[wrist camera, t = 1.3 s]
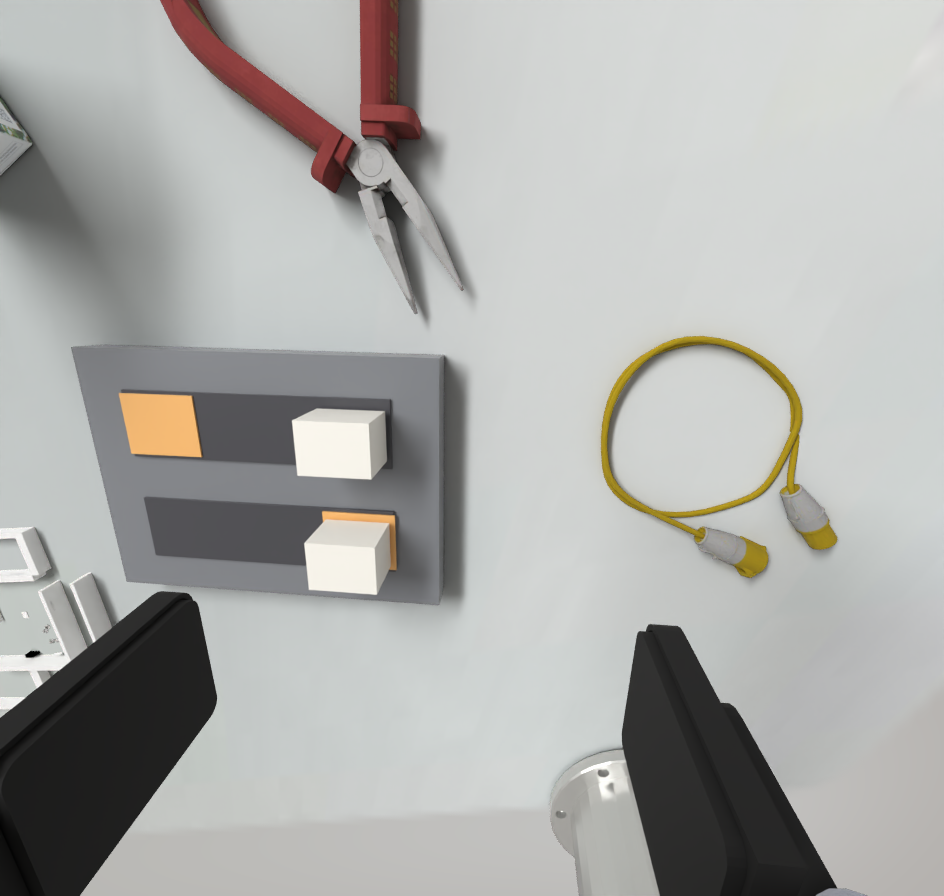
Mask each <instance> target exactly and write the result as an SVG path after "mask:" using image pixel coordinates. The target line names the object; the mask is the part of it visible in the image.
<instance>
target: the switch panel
mask: <svg viewBox="0 0 944 896" xmlns="http://www.w3.org/2000/svg"><path fill="white" fill-rule="evenodd" d="M71 349H72V353H73V357H74V362H75V366H76V370H77V374H78V378H79V383H80V387H81V391H82V395H83V400H84V404H85V408H86V412H87V416H88V421H89V425H90V429H91V433H92V437H93V442H94V446H95V450H96V454H97V458H98V463H99V467H100V471H101V475H102V479H103V484H104V488H105V492H106V496H107V501H108V505H109V509H110V513H111V517H112V522H113V526H114V530H115V534H116V538H117V543H118V547H119V551H120V555H121V559H122V564H123V568H124V572H125V576H126V581H127V582H138V583H151V584H164V585H178V586H191V587H204V588H218V589H231V590H244V591H258V592H271V593H284V594H298V595H311V596H324V597H338V598H351V599H364V600H378V601H391V602H404V603H418V604H431V605H439V603H440V599H441V595H442V592H443V588H444V355H427V354H393V353H360V352H326V351H293V350H259V349H226V348H192V347H158V346H125V345H92V346H79V347H71ZM317 408H318V409H342V410H367V411H385V422H386V449H387V462H386V463H385V464H384V465H383V467H382V468H381V469H380V470H379V471H378V472H377V474H376V475H375V476H374V477H373V478H372V479H371V480H369V479H351V478H332V477H313V476H297V466H296V456H295V446H294V436H293V426H292V420H294V419H296V418H298V417H300V416H302V415H304V414H306V413H308V412H311V411H313V410H315V409H317ZM326 519H329V520H346V521H362V522H379V523H389V530H390V557H391V567H390V569H389V571H388V573H387V575H386V577H385V579H384V581H383V583H382V585H381V587H380V589H379V591H378V594H377V595H373V594H360V593H346V592H333V591H319V590H309V586H308V576H307V566H306V556H305V546H304V543H305V542H306V541H307V540H308V538H309V537H310V536H311V535H312V534H313V533H314V532H315V531H316V530H317V529H318V528H319V526H320V525H321V524H322V523H323V522H324V521H325V520H326Z"/></svg>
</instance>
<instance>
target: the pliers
mask: <svg viewBox="0 0 944 896" xmlns="http://www.w3.org/2000/svg"><path fill="white" fill-rule="evenodd" d="M160 1H161V3H162V5H163V7H164V9H165V11H166V13H167V15H168V17H169V19H170V21H171V23H172V26H173V28H174V29H175V31H176V33H177V34H178V35H179V37H180V38H181V40H182V41H183V42H184V44H185V45H186V46H187V48H188V49H189V50H190V51H191V53H192V54H193V55H194V56H195V57H196V58H197V59H198V60H199V61H200V62H201V63H202V64H203V65H204V66H205V67H206V68H207V69H208V70H209V71H210V72H211V73H212V74H213V75H214V76H216V77H217V78H218V79H219V80H220V81H221V82H223V83H224V84H225V85H227V86H228V87H229V88H231V89H232V90H233V91H235V92H236V93H237V94H239V95H240V96H241V97H243V98H244V99H246V100H247V101H248V102H250V103H251V104H252V105H254V106H255V107H256V108H258V109H259V110H260V111H262V112H263V113H264V114H266V115H267V116H268V117H270V118H271V119H272V120H274V121H275V122H276V123H278V124H279V125H281V126H282V127H283V128H285V129H286V130H287V131H289V132H290V133H291V134H293V135H294V136H295V137H297V138H298V139H299V140H301V141H302V142H303V143H305V144H306V145H307V146H309V147H310V148H311V149H313V150H314V151H316V152H317V155H316V157H315V159H314V161H313V164H312V168H311V175H312V177H313V178H314V179H315V180H317V181H318V182H319V183H321V184H322V185H324V186H325V187H326V188H328V189H329V190H331V191H332V192H333V193H336V191H337V189H338V187H339V185H340V183H341V181H342V179H343V177H344V175H345V173H346V172H347V173H348V174H350V175H351V176H353V177H356V178H357V180H358V181H359V183H360V186H361V189H362V191H359V192H358V193H359V196H360V200H361V203H362V206H363V209H364V212H365V215H366V218H367V221H368V224H369V227H370V230H371V232H372V235H373V238H374V240H375V242H376V244H377V245H378V247H379V249H380V251H381V253H382V255H383V256H384V258H385V260H386V262H387V264H388V266H389V268H390V269H391V271H392V273H393V275H394V277H395V279H396V281H397V282H398V284H399V286H400V288H401V290H402V292H403V293H404V295H405V297H406V299H407V301H408V303H409V305H410V306H411V308H412V310H413V312H414V314H417V313H418V312H417V309H416V305H415V301H414V297H413V293H412V289H411V285H410V282H409V278H408V274H407V270H406V266H405V262H404V258H403V254H402V251H401V247H400V243H399V240H398V236H397V232H396V229H395V225H394V222H393V221H392V220H390V219H389V218H387V216H386V213H385V209H384V205H383V202H382V197H384V196H386V193H388V192H390V191H392V192H393V194H394V195H395V197H396V198H397V199H398V201H399V202H400V204H401V205H402V206H403V207H402V208H403V209H404V211H405V212H406V213H407V215H408V216H409V218H410V219H411V220H412V222H413V223H414V225H415V226H416V227H417V229H418V230H419V232H420V233H421V234H422V236H423V237H424V239H425V240H426V241H427V243H428V244H429V246H430V247H431V249H432V250H433V251H434V253H435V254H436V256H437V257H438V258H439V260H440V261H441V263H442V264H443V265H444V267H445V268H446V270H447V271H448V272H449V274H450V275H451V277H452V278H453V279H454V281H455V282H456V284H457V285H458V286H459V288H460V289H461V290H463V286H462V284H461V282H460V279H459V277H458V274H457V272H456V270H455V267H454V265H453V263H452V260H451V258H450V255H449V253H448V251H447V248H446V246H445V243H444V241H443V239H442V236H441V234H440V231H439V229H438V227H437V224H436V222H435V219H434V217H433V215H432V213H431V212H430V210H429V209H428V207H427V206H426V204H425V203H424V201H423V200H422V198H421V197H420V195H419V194H418V192H417V191H416V190H415V188H414V187H413V185H412V184H411V182H410V181H409V179H408V178H407V177H406V175H405V174H404V173H403V171H402V170H401V168H400V167H399V165H398V164H397V163H396V160H395V156H394V152H393V151H397V139H420V135H421V122H420V120H419V118H418V116H417V114H416V112H415V111H414V110H413V109H412V108H410V107H407V106H402V105H397V86H398V0H360V57H361V104H360V120H361V135H362V136H363V137H364V138H365V140H363V141H361V142H360V143H359V144H358V145H356V144H355V142H354V141H353V140H351V139H350V138H348V137H347V136H346V135H344V134H343V133H342V132H341V131H340V130H338V129H337V128H336V127H334V126H333V125H332V124H330V123H329V122H327V121H326V120H325V119H323V118H322V117H321V116H319V115H318V114H317V113H315V112H314V111H313V110H311V109H310V108H309V107H307V106H306V105H305V104H303V103H302V102H301V101H299V100H298V99H297V98H295V97H294V96H293V95H291V94H290V93H289V92H287V91H286V90H285V89H283V88H282V87H281V86H279V85H278V84H277V83H275V82H274V81H273V80H271V79H270V78H269V77H267V76H266V75H265V74H263V73H262V72H261V71H259V70H258V69H257V68H255V67H254V66H253V65H251V64H250V63H249V62H247V61H246V60H245V59H243V58H242V57H241V56H239V55H238V54H237V53H235V52H234V51H233V50H231V49H230V48H229V47H227V46H226V45H225V44H224V43H223V42H222V41H221V40H220V38H219V37H218V36H217V34H216V33H215V31H214V30H213V28H212V27H211V25H210V23H209V22H208V20H207V18H206V17H205V15H204V13H203V10H202V8H201V6H200V4H199V2H198V0H160Z"/></svg>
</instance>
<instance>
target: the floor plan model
mask: <svg viewBox="0 0 944 896" xmlns="http://www.w3.org/2000/svg"><path fill="white" fill-rule="evenodd" d="M7 538H16V541H17V543H18V545H19V548H20V550H21V552H22V555H23V557H24V559H25V562H26V564H27V566H28V568H29V569H23V570H0V582H26V581H36V580H37V579H39V578H41V577H43V576H44V575H46V571H48V570H49V569H51V566H50V563H49V561H48V559H47V556H46V554H45V551H44V549H43V546H42V544H41V542H40V539H39V537H38V534H37V532H36V529H35V527H24V528H6V529H0V539H7ZM51 576H52V575H51ZM70 587H71V589H72V591H73V594H74V596H75V599H76V601H77V604H78V606H79V609H80V611H81V614H82V616H83V619H84V621H85V623H86V626H87V628H88V631H89V633H90V636H91V638H92V641H93V643H94V642H95V641H96V640H98V639H99V638H100V637H101V636H103V635H104V634H105V633H106V632H107V631H109V630H110V629H111V628H112V625H111V623H110V620H109V618H108V615H107V612H106V610H105V607H104V605H103V602H102V599H101V597H100V594H99V592H98V589H97V586H96V584H95V581H94V579H93V576H92V573H87V574H85V575H83V576H82V577H80V578H78V579H77V580H75V581H73V582H72V583H70ZM38 593H39V596H40V598H41V600H42V603H43V605H44V607H45V610H46V612H47V614H48V617H49V619H50V621H51V624H52V626H53V628H54V631H55V633H56V635H57V637H58V639H55V640H54V639H50V641H49V642H50V643H53V642H54V641H56V642H60V644H61V647H62V649H63V651H64V654H62V653H63V652H56V653H55V654H53V655H38V654H39V653H40V652H39V651H38V652H37V651H35V652H34V651H30V652H29V653H27V654H26V655H0V671H29V672H30V674H31V676H32V679H33V681H34V683H35V685H36V687H37V688H38V687H39V686H41V685H42V684H43V683H44V682H46V681H47V680H48V679H49V678H50V677H51V676H50V674H49V672H48V671H52V670H60V669H62V668H63V667H64V666H65V665H67V664H68V663H69V662H70V661H72V660H73V659H74V658H75V657H77V656H78V655H79V654H80V653H81V652H83V651H84V650H85V649H86V648H88V647H87V645H86V642H85V640H84V637H83V635H82V633H81V630H80V628H79V625H78V623H77V620H76V618H75V616H74V613H73V611H72V608H71V606H70V603H69V601H68V599H67V596H66V594H65V591H64V589H63V586H62V584H61V581H60V580H57V581H55V582H53V583H52V584H50V585H48V586H46V587H45V588H43V589H41V590H40V591H38ZM21 613H22V615H23V617H24V618H29V616H28V614H27V612H21ZM3 620H4V619H3V617H2V615H1V613H0V622H2V621H3ZM45 628H46V629H44V630H43V633H45V632H46V633H47V632H48V629H49V628H50V626H49V625H46V626H45ZM24 698H26V697H0V709H12V708H13V707H15V706H16V705H17V704H18V703H20V702H21V701H22V700H23V699H24Z"/></svg>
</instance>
